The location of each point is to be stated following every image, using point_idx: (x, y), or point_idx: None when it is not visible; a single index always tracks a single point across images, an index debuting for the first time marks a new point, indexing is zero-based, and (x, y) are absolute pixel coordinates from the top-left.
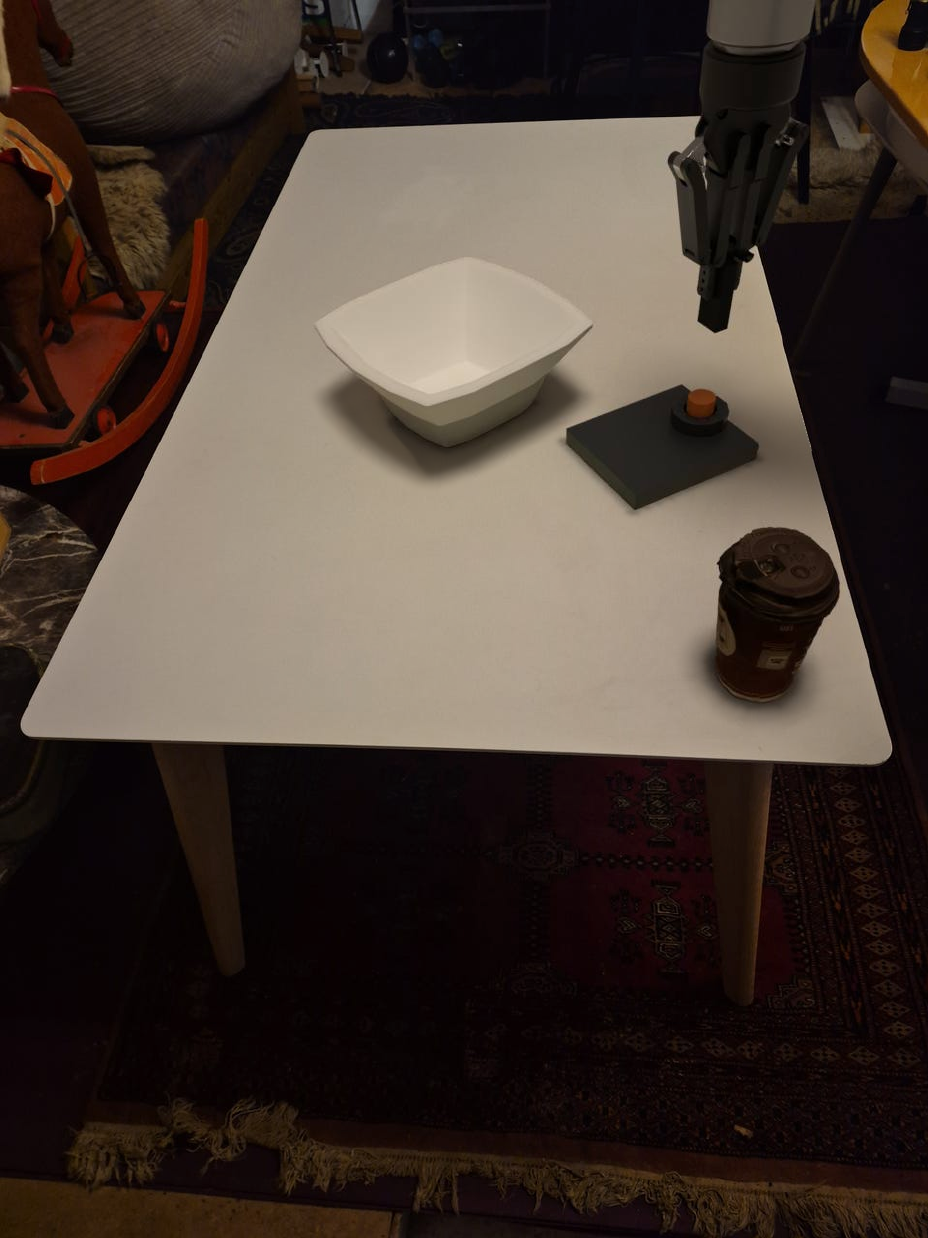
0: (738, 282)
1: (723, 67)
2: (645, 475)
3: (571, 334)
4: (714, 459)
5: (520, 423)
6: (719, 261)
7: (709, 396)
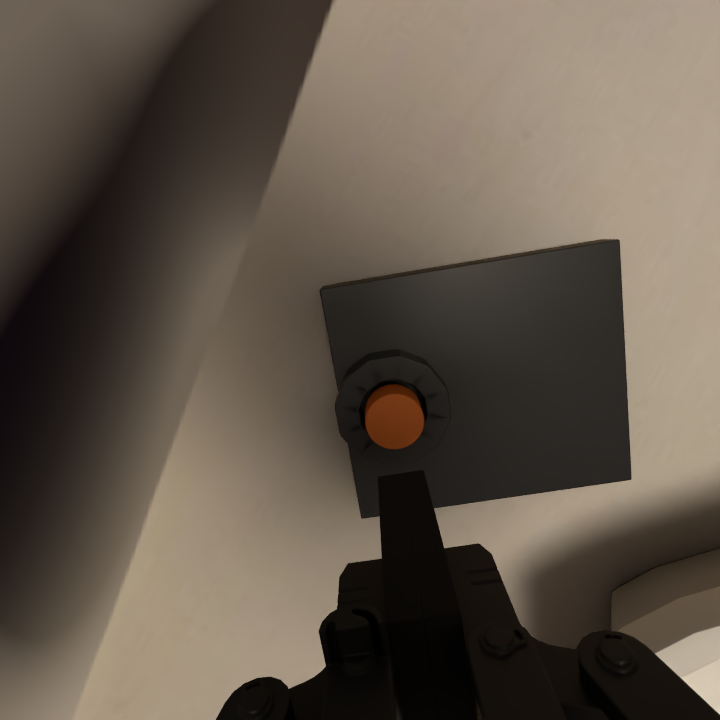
0: (345, 579)
1: None
2: (571, 288)
3: (671, 663)
4: (425, 280)
5: (659, 546)
6: (511, 636)
7: (380, 415)
